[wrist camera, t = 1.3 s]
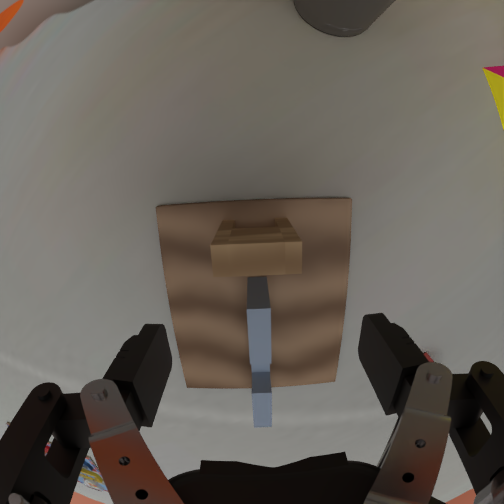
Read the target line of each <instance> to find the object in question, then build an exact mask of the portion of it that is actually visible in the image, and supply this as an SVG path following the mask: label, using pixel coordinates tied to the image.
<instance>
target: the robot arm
mask: <svg viewBox="0 0 504 504" xmlns="http://www.w3.org/2000/svg"><path fill="white" fill-rule="evenodd" d="M394 1H395V0H294V3H295V6H296V9H297V11H298V12H299V14H300V15H301V17H302V18H303V19H304V20H305V21H306V22H308V23H309V24H310V25H312V26H313V27H315V28H317V29H318V30H320V31H322V32H325V33H328V34H331V35H336V36H346V37H348V36H355V35H358V34H361V33H362V32H364V31H365V30H367V28H368V27H369V26H370V25H371V24H372V23H373V22H374V21H375V20H376V19H377V18H378V17H379V16H380V15H381V14H382V13H383V12H384V11H385V10H386V9H387V8H388V7H389V6H390V5H391V4H392V3H393V2H394ZM358 354H359V359H360V361H361V363H362V366H363V368H364V370H365V372H366V374H367V376H368V378H369V380H370V382H371V384H372V386H373V388H374V390H375V393H376V395H377V397H378V399H379V401H380V403H381V405H382V408H383V410H384V412H385V414H386V415H390V414H394V413H397V415H398V419H397V422H396V424H395V426H394V429H393V431H392V434H391V436H390V439H389V441H388V443H387V445H386V448H385V450H384V452H383V454H382V456H381V459H380V461H379V462H378V464H377V466H374V465H371V464H368V463H364V462H359V461H347V457H346V454H345V452H341V453H335V454H329V455H322V456H315V457H309V458H306V459H303V460H300V461H297V462H294V463H290V464H287V465H283V466H280V467H274V468H272V467H265V466H259V465H253V464H247V463H242V462H237V461H206V460H201V465H200V469H198V470H193V471H189V472H185V473H182V474H179V475H177V476H175V477H172V478H171V479H169V480H167V478H166V477H165V475H164V473H163V472H162V470H161V469H160V467H159V465H158V464H157V462H156V461H155V459H154V457H153V456H152V454H151V452H150V450H149V449H148V447H147V445H146V443H145V442H144V440H143V438H142V436H141V434H140V432H139V431H140V428H141V426H146V427H152V425H153V422H154V419H155V416H156V413H157V409H158V406H159V403H160V400H161V398H162V395H163V392H164V389H165V386H166V383H167V380H168V377H169V374H170V371H171V368H172V355H171V351H170V347H169V342H168V338H167V334H166V329H165V326H164V325H163V324H145V325H144V326H143V328H142V329H141V331H140V333H139V334H138V335H133V336H132V337H131V338H129V339H128V340H127V341H125V343H124V344H123V346H122V347H121V349H120V351H119V352H118V354H117V356H116V358H115V359H114V360H113V362H112V364H111V365H110V367H109V369H108V370H107V372H106V374H105V375H104V377H103V379H97V380H94V381H91V382H89V383H88V384H86V385H85V386H84V387H83V388H82V390H81V393H70V394H63V393H62V391H61V389H60V387H59V386H58V385H57V384H55V383H43V384H40V385H38V386H36V387H35V388H34V389H33V390H32V391H31V393H30V394H29V395H28V397H27V398H26V400H25V401H24V403H23V404H22V406H21V408H20V409H19V411H18V412H17V414H16V415H15V417H14V418H13V420H12V422H11V423H10V425H9V426H8V428H7V430H6V431H5V433H4V435H3V436H2V438H1V440H0V504H70V502H71V498H72V495H73V492H74V489H75V486H76V483H77V481H78V478H79V475H80V472H81V469H82V466H83V464H84V461H85V458H86V456H87V453H88V450H89V448H91V449H92V452H93V455H94V457H95V460H96V463H97V465H98V468H99V471H100V473H101V476H102V478H103V481H104V483H105V485H106V488H107V490H108V492H109V494H110V497H111V499H112V501H113V503H114V504H446V503H444V502H442V501H440V500H438V499H436V498H434V497H432V496H431V495H432V492H433V490H434V486H435V483H436V480H437V477H438V474H439V470H440V467H441V463H442V459H443V455H444V451H445V447H446V443H447V438H448V434H449V435H450V437H451V439H452V441H453V443H454V446H455V448H456V450H457V452H458V454H459V456H460V458H461V461H462V463H463V465H464V467H465V469H466V472H467V474H468V476H469V479H470V481H471V483H472V486H473V488H474V491H475V493H476V497H475V500H474V504H504V374H503V373H502V372H501V371H500V369H499V368H498V367H497V366H496V365H494V364H492V363H490V362H486V361H479V362H476V363H474V364H473V365H472V367H471V369H470V372H469V374H452V373H451V371H450V370H449V369H448V368H447V367H446V366H444V365H443V364H440V363H436V362H429V361H428V359H427V358H426V357H425V355H424V354H423V353H422V351H421V350H420V349H419V348H418V346H417V345H416V344H414V341H413V340H412V339H411V337H409V335H408V334H407V332H406V331H405V330H404V329H403V328H402V327H400V326H398V325H397V324H395V323H390V322H389V320H388V319H387V318H386V316H385V315H384V314H383V313H376V314H368V315H364V317H363V321H362V327H361V334H360V340H359V346H358ZM483 412H484V413H485V415H486V417H487V418H488V420H489V421H490V423H491V425H492V434H491V435H490V433H489V431H488V430H487V428H486V426H485V424H484V423H483V421H482V420H481V418H480V416H481V415H482V413H483ZM51 435H53V436H54V439H53V442H52V444H51V446H50V448H49V450H48V452H47V454H46V456H45V447H46V445H47V443H48V441H49V439H50V437H51Z"/></svg>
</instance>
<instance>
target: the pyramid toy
mask: <svg viewBox="0 0 504 504" xmlns="http://www.w3.org/2000/svg"><path fill="white" fill-rule="evenodd" d="M483 71H484V73H485V76H486V78H487V81H488V83H489V86H490V88H491V91H492V94H493V97H494V100H495V103H496V106H497V109H498V112H499V115H500V119H501V122H502V126H503V129H504V66H495V67H485V68H483Z"/></svg>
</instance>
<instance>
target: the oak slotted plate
mask: <svg viewBox="0 0 504 504" xmlns="http://www.w3.org/2000/svg"><path fill="white" fill-rule="evenodd" d="M210 248H211V259H212V270H213V277H236V276H261V275H283V274H302V240H301V239H300V237H299V236H298V234H297V233H296V231H295V229H294V228H293V226H292V225H291V223H290V222H289V220H288V218H275V227H257V228H235V220H222V222H221V224H220V226H219V228H218V231H217V233H216V235H215V237H214V239H213V241H212V243H211V245H210Z"/></svg>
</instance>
